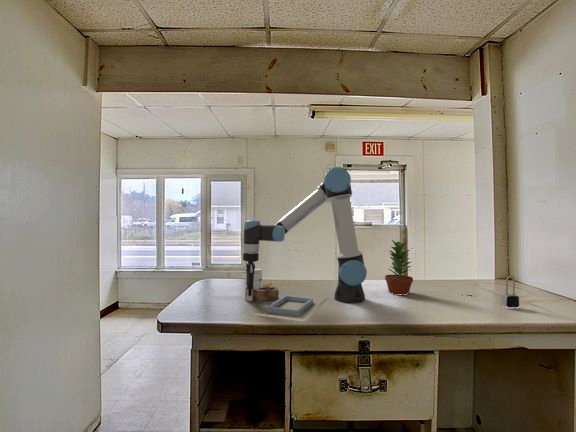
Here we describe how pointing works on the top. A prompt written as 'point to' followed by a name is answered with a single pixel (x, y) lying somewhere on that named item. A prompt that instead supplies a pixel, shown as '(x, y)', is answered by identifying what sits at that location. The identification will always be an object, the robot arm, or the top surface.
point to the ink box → (256, 278)
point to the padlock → (510, 296)
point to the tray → (275, 309)
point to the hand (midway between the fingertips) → (249, 300)
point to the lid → (266, 289)
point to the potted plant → (399, 271)
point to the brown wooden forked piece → (264, 294)
